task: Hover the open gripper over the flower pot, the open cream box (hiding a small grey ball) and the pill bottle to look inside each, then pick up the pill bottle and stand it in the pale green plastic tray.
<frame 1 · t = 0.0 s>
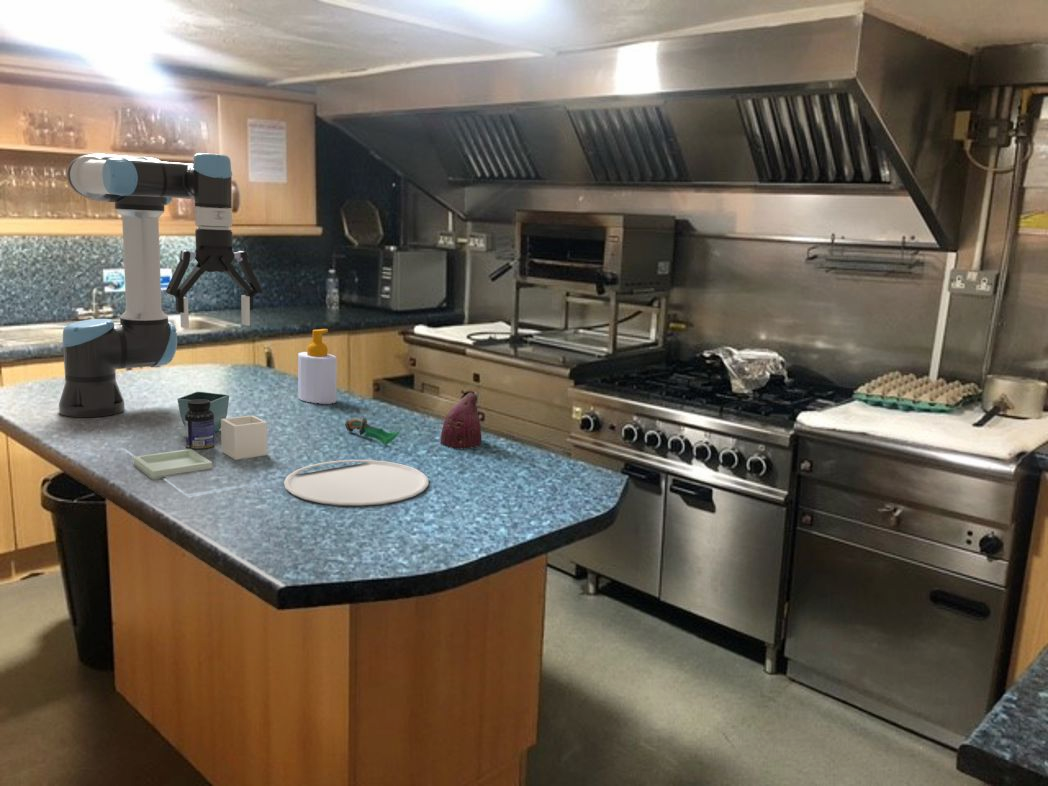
hand: (216, 326, 189), 28 cm above the countertop, fingers open, 13 cm apart
open cream box: (244, 455, 191), on the countertop
plate: (357, 486, 176), on the countertop
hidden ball: (244, 452, 191), point 1 cm above the countertop, touching open cream box
flower pot: (204, 433, 208), on the countertop
pill bottle: (200, 449, 194), on the countertop
tray: (172, 467, 180), on the countertop
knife: (372, 441, 209), on the countertop
vegetable: (460, 444, 211), on the countertop
soap bottle: (317, 400, 248), on the countertop
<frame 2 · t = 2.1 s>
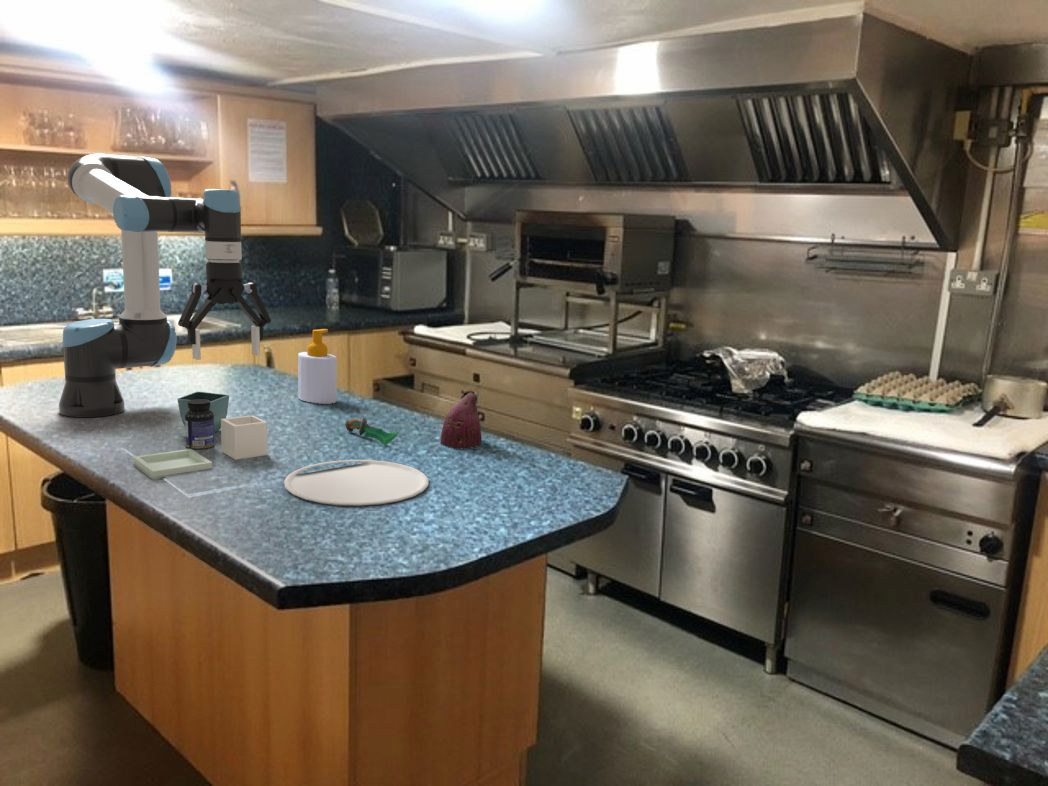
hand: (227, 356, 193), 21 cm above the countertop, fingers open, 13 cm apart
nothing on the countertop moved.
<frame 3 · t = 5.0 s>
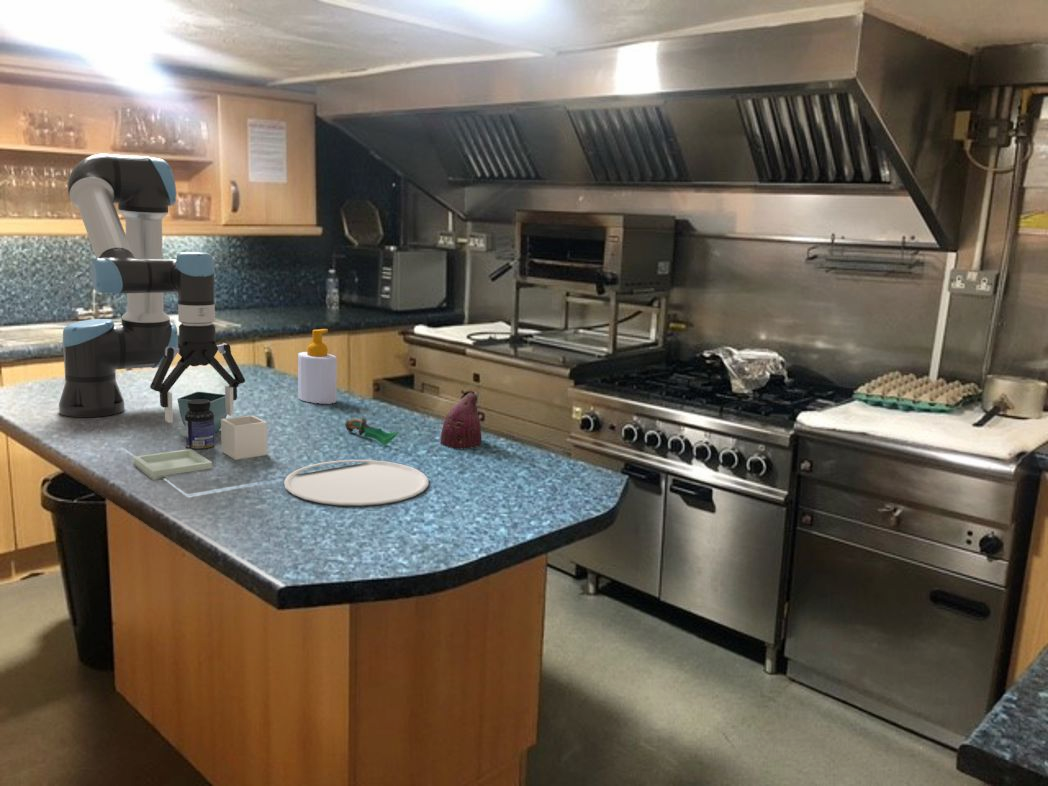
hand: (200, 418, 193), 7 cm above the countertop, fingers open, 13 cm apart
nothing on the countertop moved.
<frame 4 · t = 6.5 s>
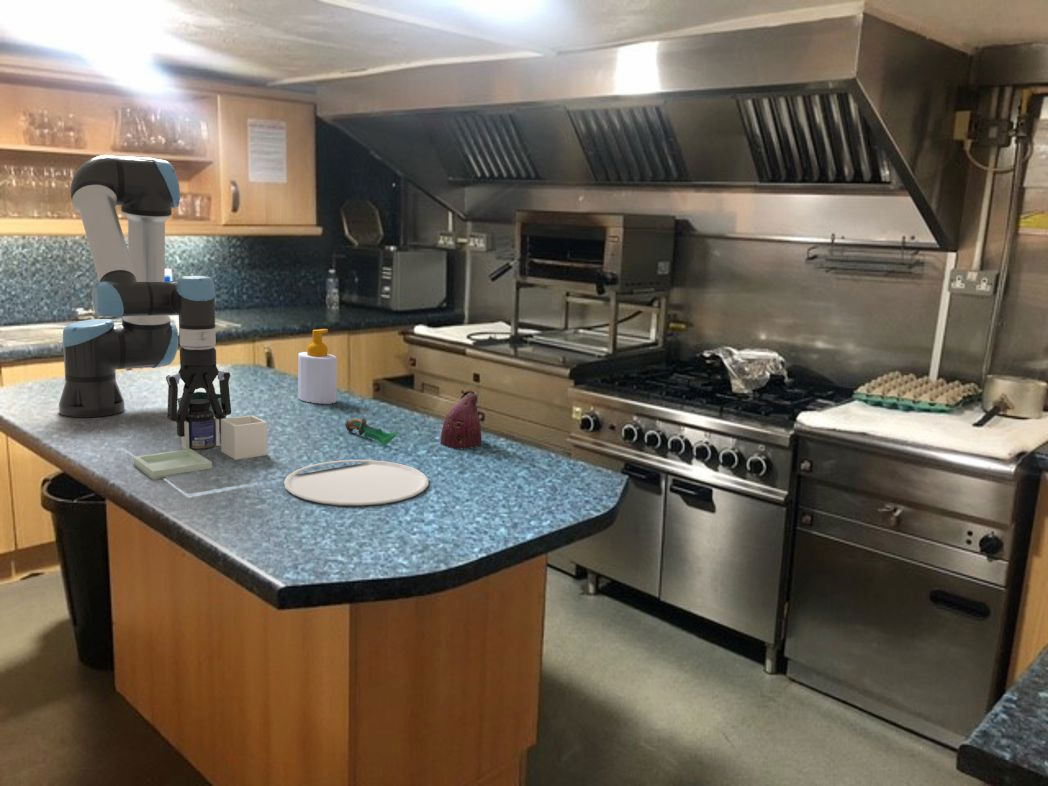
hand: (200, 447, 194), 0 cm above the countertop, fingers closed on pill bottle, 6 cm apart
pill bottle: (200, 449, 194), on the countertop, touching gripper
everything else where it was.
when the fingers open (2 cm above the countertop, at t = 11.2 s): pill bottle stays where it is, resting on tray.
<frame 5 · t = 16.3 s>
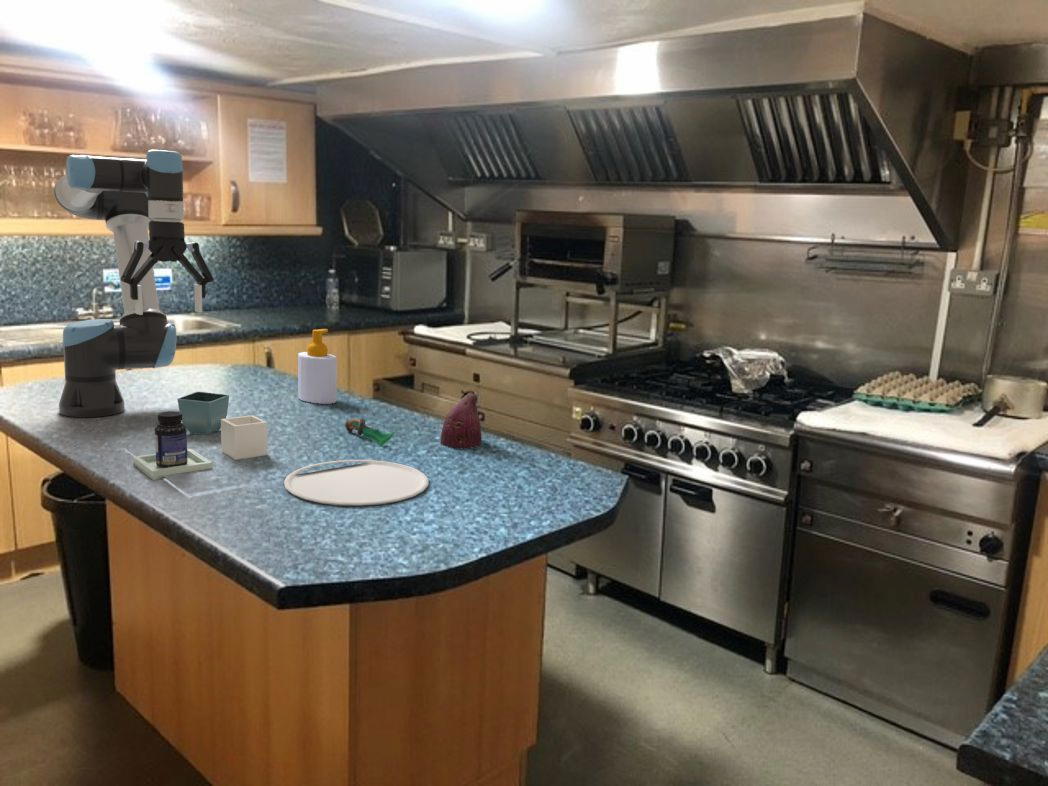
hand: (169, 313, 201), 29 cm above the countertop, fingers open, 13 cm apart
pill bottle: (171, 465, 180), resting on tray
everything else where it was.
at the end: pill bottle inside the target area on the tray (0.3 cm from its centre), point 0.4 cm above the tray's base; pill bottle tilted 0°; the gripper is holding nothing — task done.
